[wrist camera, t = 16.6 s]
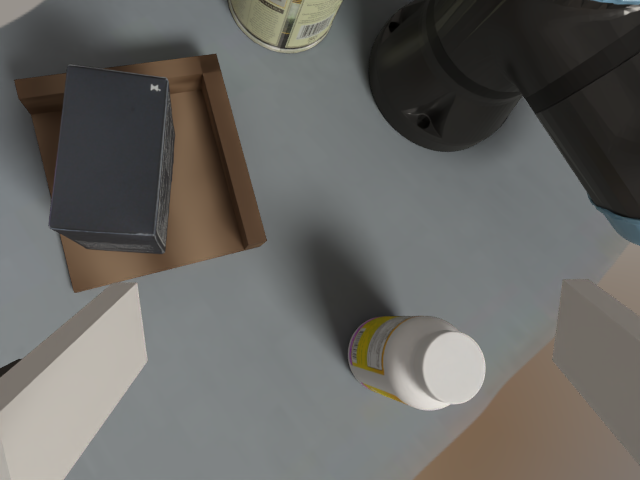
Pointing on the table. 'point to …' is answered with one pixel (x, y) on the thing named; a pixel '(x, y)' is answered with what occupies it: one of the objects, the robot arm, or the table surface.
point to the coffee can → (285, 22)
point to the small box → (114, 161)
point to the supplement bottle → (416, 361)
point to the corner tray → (187, 179)
